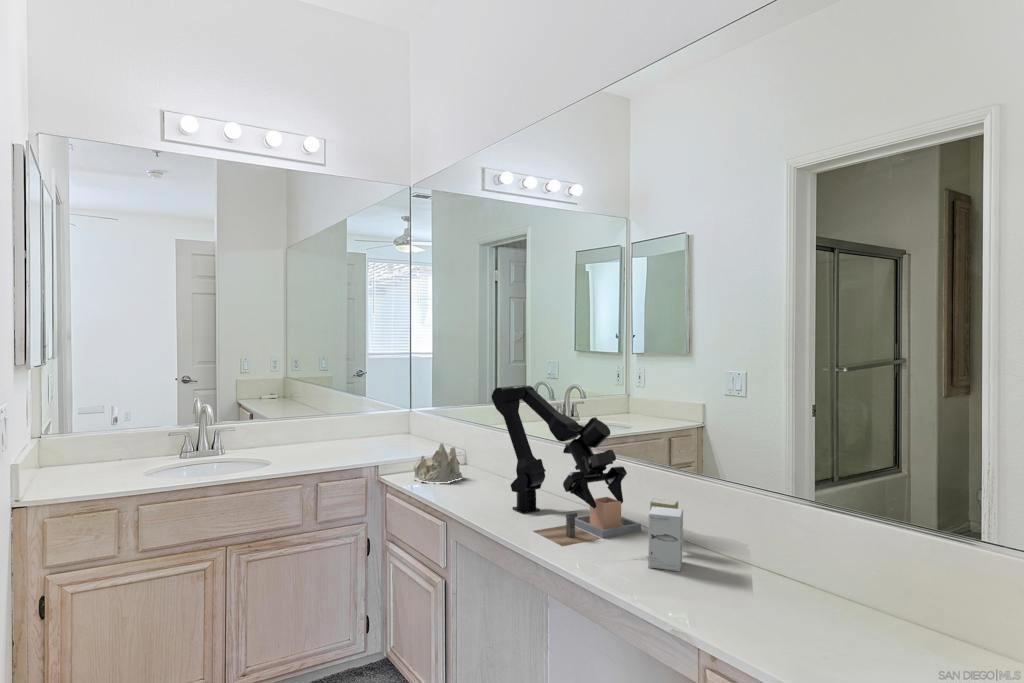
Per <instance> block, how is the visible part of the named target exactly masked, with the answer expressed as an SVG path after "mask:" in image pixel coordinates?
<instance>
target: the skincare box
mask: <svg viewBox="0 0 1024 683" xmlns="http://www.w3.org/2000/svg"><path fill="white" fill-rule="evenodd" d="M649 502H650V506H649V507H650V508H649V512H650V511H651V508H652V506H654V507H664V508H674V509H679V501H678V500H671V499H666V498H664V499H663V498H658V497H657V498H656V497H654V498H653V499H652V500H650V501H649Z"/></svg>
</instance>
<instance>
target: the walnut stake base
mask: <svg viewBox="0 0 1024 683" xmlns="http://www.w3.org/2000/svg"><path fill="white" fill-rule="evenodd" d="M575 517H578V513H577V512H576V511H573V512H567V513H565V519H566V520H565V524H564V525H559V526H554V527H549V528H542V529H536V530H532V532H533V533H535V534H537V535H539V536H541V537H543V538H545V539H547V540H549V541H551V542H553V543H555V544H557V545H559V546H561V547H566V546H571V545H574V544H575V545H576V544H582V543H585V542H591V541H596V540H601V539H602V538H601V537H598V536H596V535H594V534H592V533H589V532H587V531H585V530H582V529H580V528H578V527H576V526H575Z"/></svg>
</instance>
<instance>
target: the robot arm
mask: <svg viewBox="0 0 1024 683" xmlns="http://www.w3.org/2000/svg"><path fill="white" fill-rule="evenodd" d="M520 400H522V401H523V402H524V403H525V404H526V405H527V406H528V407H529V408H530V409H531V410H532V411H534V412H535V413H536V414H537V415H538V416H539V417H540V418H541V419H542V420H543V421H544V422H545V423H546V424H547V426H548V428H549V431H550V433H551V434H552V435H553V437H554V438H555V439H556V440H557V441H558V442H567V441H571V442H569V443H566V444H565V446H564V448H563V454H570V455H571V456H572V458H573V460H574V462H575V464H576V465H575V467H574V469H575V470H576V471H571V472H569V474H567V475H566V478H565V479H564V480H563V483H562V486H563V488H564V492H566V493H568V492H570V494H571V495H575V496H576V497H577V498H580V499H581V500H582V501H584V503H586V504H587V505H589V507H590V506H591V507H593V508H596V503H595V501H594V499H595V498H594V497H593V495H592V493H591V490H590V489H589V484H590V483H597V482H603V481H604V482H605V484H606V485H608V486H607V489H608V490H609V492H610V493H611V494H612V495H613V497H614V499H615V500H618V501H621V505H622V504H623V503H624V497H623V490H622V481H623V480H624V479H625V477H626V476H627V474H628V472H627V470H626V468H625V467H624V466H621V465H620V466H612V467H610V469H609V470H608V471H607V472H604V471H606V470H607V468H608V467H607V466H608V465H613V464H614V462H615V461H617V456H616V453H615V452H614V451H613V449H607V450H606V451H604V452H599V453H594V452H593V450H592V448H594V449H595V448H597V447H599V446H600V445H601V444H602V443H603V442H604V441H605V440H606V439H607V438H608V437H609V436H611V429H610V428H609V426H608V425H607V424H605V423H604V422H603V421H601V420H600V419H598V418H597V417H595V416H594V417H591V418H590V419H589V420H588V422H587V423H586V424H585V425H580V424H579V423H578V422H577V421H576V420H574V419H573V418H571V417H570V416H568V415H565V414H563V413H561V412H559V411H558V410H557V409H556V408H555V407H554V406H552V405H551V404H550V403H549V402H548V401H547V400H546V399H545V398H544V397H543V396H542V395H540V394H539V393H538V392H537V391H536V389H535V388H534V387H533V386H532V385H521V386H519V387H513V386H503V387H502V386H501V387H496V388H495V389H494V390H493V392H492V393H491V401H492V403H493V404H494V407H495V409H496V410H497V412H499V414H501V416H502V417H503V420H504V423H505V426H506V429H507V431H508V435H509V438H510V441H511V444H512V447H513V451H514V454H515V456H516V460H517V461H516V467H515V468H516V469H515V471H516V476H517V477H516V478H515V479H514V480H512V482H511V483H510V488H511V491H512V493H513V492H514V493H516V506H512V508H511V509H512V510H514V511H515V512H516V511H517V512H518V513H521V514H528V513H535V512H539V511H541V508H538V507H537V491H536V490H540V489H541V488H542V484H543V483H544V481H545V479H546V473H545V472H546V469H545V468H544V465H543V464H544V463H543V460H542V458H536V457H535V456H534V455H533V452H532V450H531V445H530V442H529V440H528V437H527V434H526V431H525V427H524V425H523V422H522V418H521V416H520V411H519V410H520V405H521V404H520V403H521V401H520ZM578 470H579V471H578ZM588 483H589V484H588Z"/></svg>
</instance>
